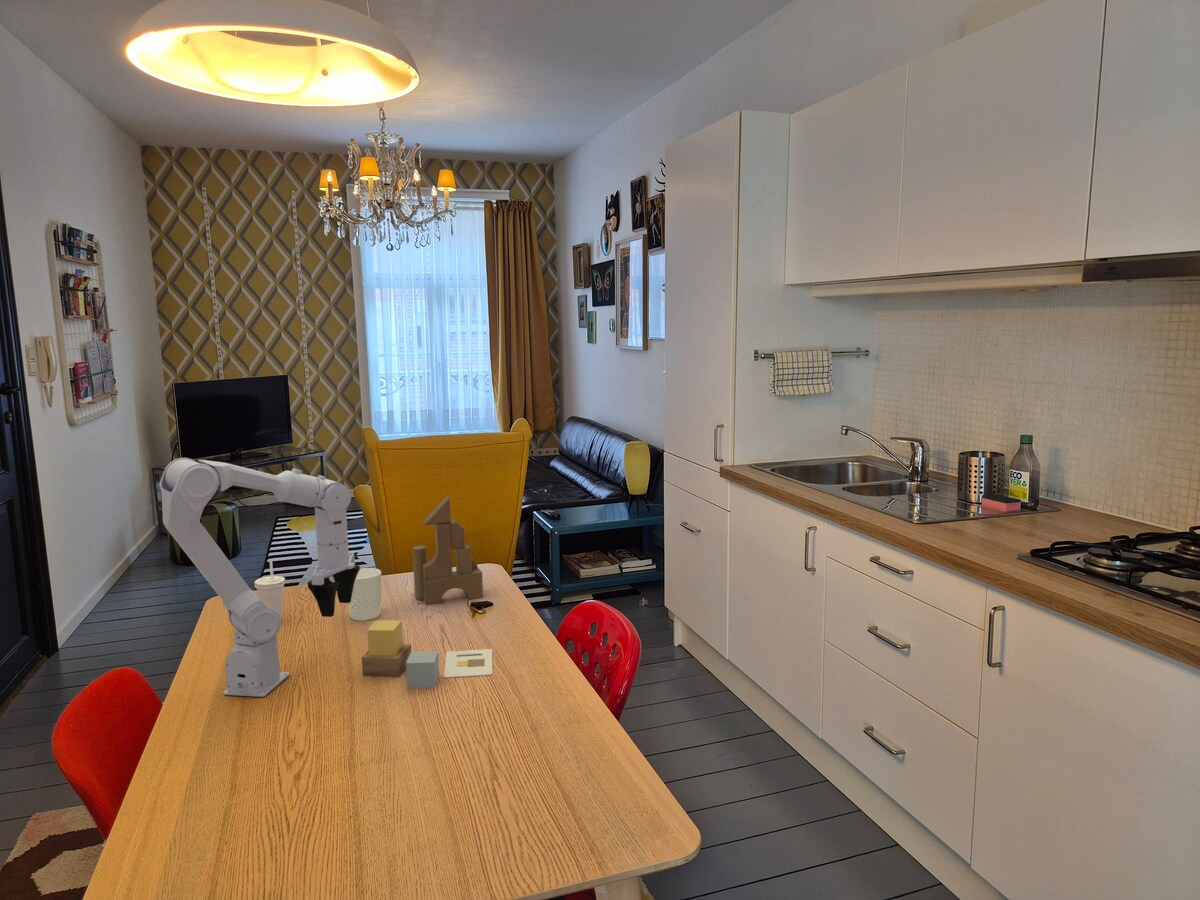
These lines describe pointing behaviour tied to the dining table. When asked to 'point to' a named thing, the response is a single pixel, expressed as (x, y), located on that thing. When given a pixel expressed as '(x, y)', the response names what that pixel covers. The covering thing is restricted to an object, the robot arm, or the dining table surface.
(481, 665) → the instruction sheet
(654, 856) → the dining table surface
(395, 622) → the mustard brick
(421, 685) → the slate brick
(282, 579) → the smoothie
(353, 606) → the white cup
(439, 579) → the wooden toy
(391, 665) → the walnut base
